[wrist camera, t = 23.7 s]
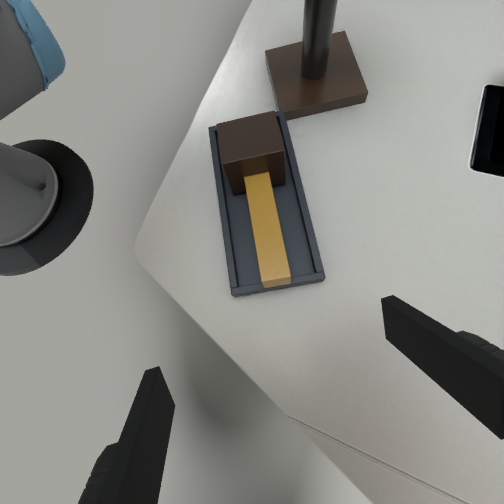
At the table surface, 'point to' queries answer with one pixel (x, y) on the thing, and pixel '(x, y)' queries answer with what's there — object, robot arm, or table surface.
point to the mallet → (258, 185)
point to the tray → (290, 218)
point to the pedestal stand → (315, 67)
